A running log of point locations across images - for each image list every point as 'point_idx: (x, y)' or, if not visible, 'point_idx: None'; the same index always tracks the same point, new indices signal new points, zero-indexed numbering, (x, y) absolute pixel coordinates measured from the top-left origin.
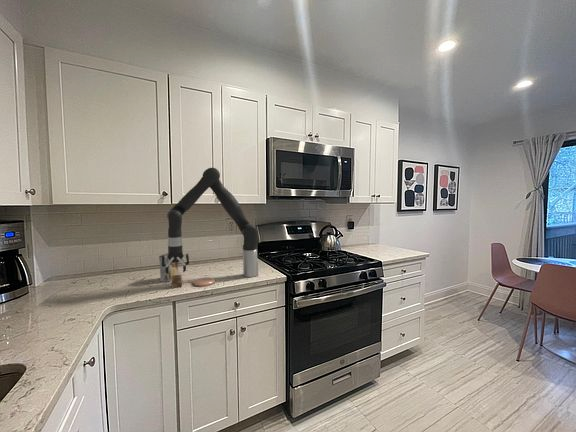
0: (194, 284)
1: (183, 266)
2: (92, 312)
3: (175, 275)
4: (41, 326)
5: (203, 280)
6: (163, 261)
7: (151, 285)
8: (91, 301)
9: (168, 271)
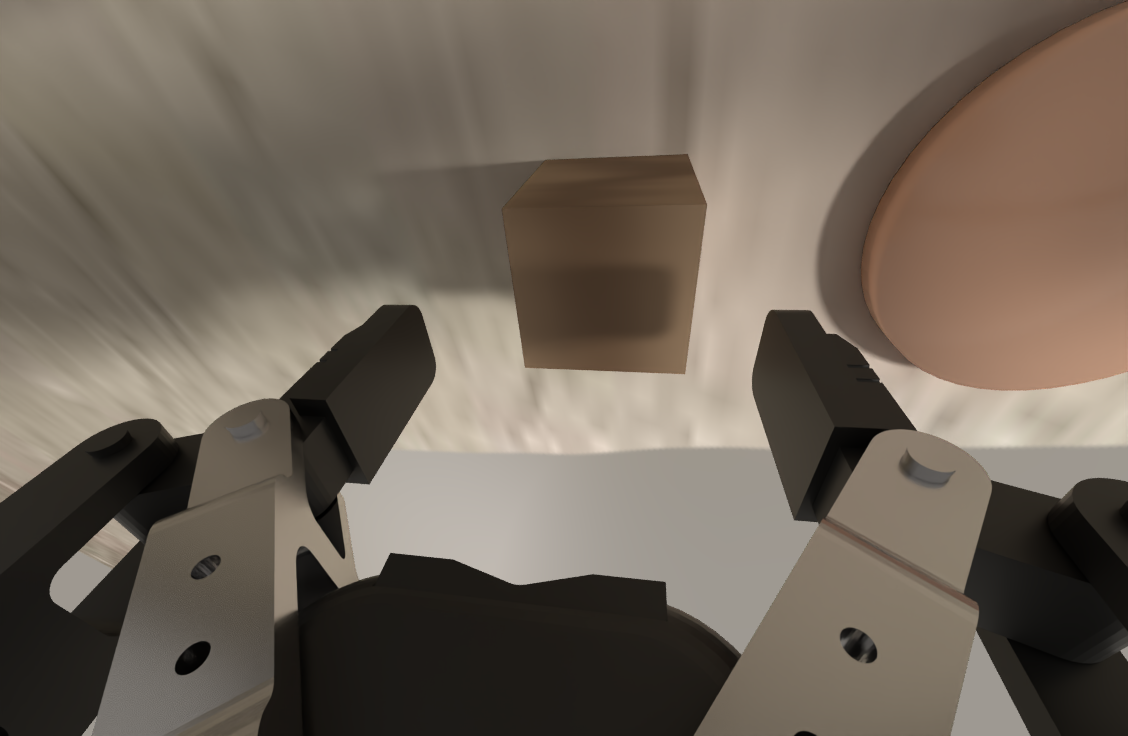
0: (869, 292)
1: (800, 507)
2: None
3: (572, 226)
4: (116, 535)
5: (1104, 218)
6: (94, 686)
7: (202, 27)
8: (5, 353)
9: (410, 356)
